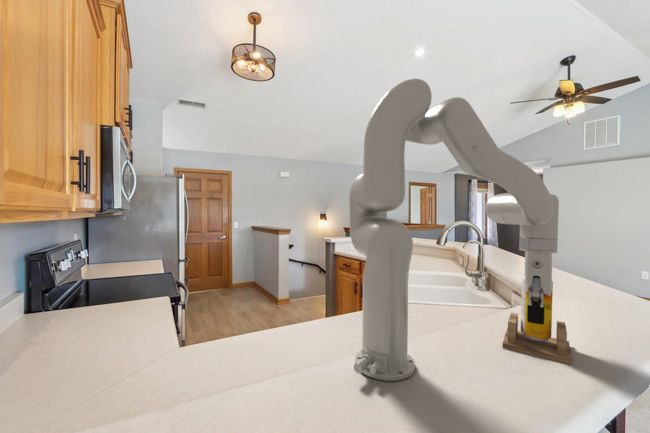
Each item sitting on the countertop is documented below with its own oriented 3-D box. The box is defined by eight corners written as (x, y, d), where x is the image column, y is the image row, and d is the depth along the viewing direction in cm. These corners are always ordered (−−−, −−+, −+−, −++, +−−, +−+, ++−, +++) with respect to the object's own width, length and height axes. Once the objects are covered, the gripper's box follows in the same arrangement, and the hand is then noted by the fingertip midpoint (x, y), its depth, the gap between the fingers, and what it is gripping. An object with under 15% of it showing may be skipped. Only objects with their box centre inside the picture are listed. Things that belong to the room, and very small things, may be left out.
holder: (572, 365, 64) (572, 336, 64) (502, 348, 72) (502, 322, 72) (568, 346, 73) (569, 321, 73) (507, 332, 81) (507, 310, 81)
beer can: (556, 343, 69) (558, 279, 68) (527, 340, 70) (529, 277, 70) (543, 332, 75) (544, 273, 74) (516, 330, 76) (517, 272, 76)
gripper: (558, 250, 63) (556, 334, 63) (556, 243, 76) (554, 312, 77) (516, 247, 67) (514, 326, 68) (521, 241, 81) (519, 306, 81)
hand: (535, 318), depth 72 cm, fingers closed on beer can, 6 cm apart
